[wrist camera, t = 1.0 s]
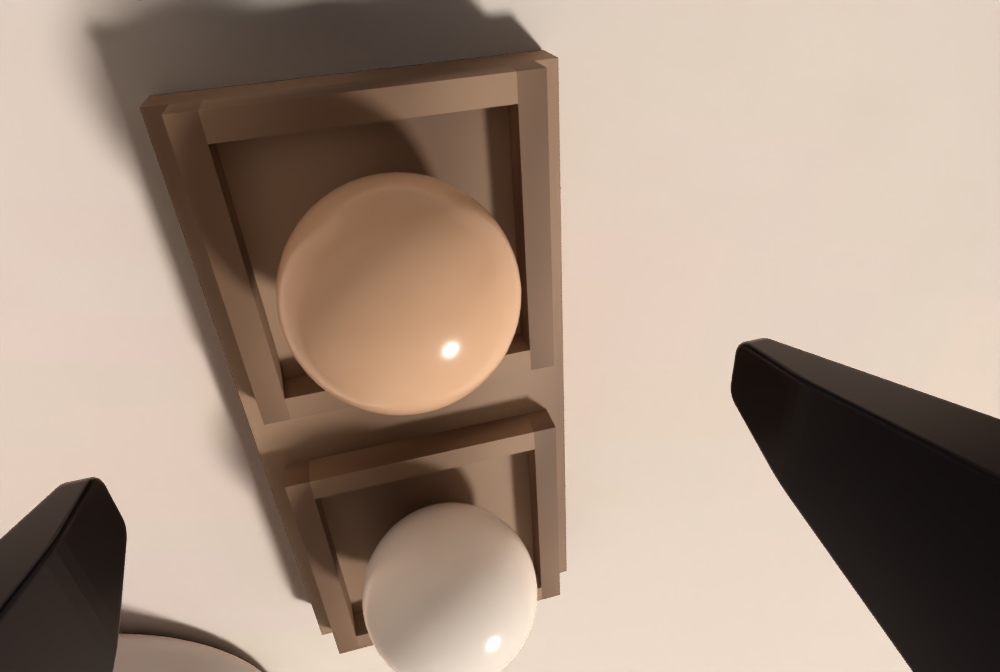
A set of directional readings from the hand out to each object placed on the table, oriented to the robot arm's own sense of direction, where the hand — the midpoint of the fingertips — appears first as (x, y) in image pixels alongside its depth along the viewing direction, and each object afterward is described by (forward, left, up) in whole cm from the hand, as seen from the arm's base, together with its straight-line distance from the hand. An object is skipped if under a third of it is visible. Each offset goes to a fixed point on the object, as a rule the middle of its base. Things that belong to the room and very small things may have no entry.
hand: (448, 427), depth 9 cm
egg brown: (0, 0, -7) cm, 7 cm away
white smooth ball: (0, +9, -7) cm, 11 cm away
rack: (0, +5, -8) cm, 9 cm away
